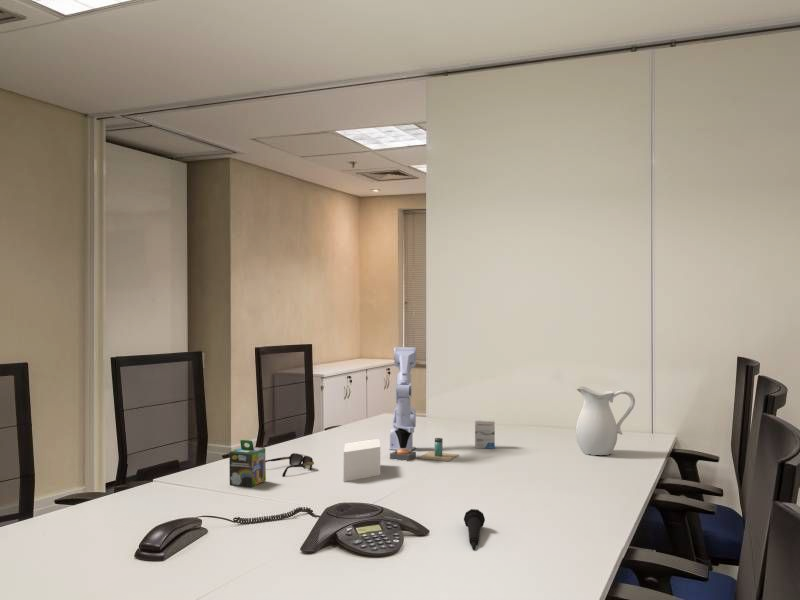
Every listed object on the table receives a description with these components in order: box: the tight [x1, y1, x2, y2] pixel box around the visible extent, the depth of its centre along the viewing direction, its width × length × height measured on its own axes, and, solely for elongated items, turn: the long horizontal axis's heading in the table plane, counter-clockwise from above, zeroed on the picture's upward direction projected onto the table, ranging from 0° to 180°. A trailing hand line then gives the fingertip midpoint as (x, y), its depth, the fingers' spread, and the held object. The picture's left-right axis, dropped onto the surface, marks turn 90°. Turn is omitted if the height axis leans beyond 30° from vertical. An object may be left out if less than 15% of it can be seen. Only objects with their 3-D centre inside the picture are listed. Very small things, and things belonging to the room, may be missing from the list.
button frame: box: [389, 450, 417, 462], centre depth 273 cm, size 8×8×2 cm
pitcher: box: [575, 386, 636, 456], centre depth 285 cm, size 24×17×28 cm
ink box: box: [474, 419, 496, 449], centre depth 297 cm, size 8×5×12 cm, turn 84°
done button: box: [396, 449, 409, 455], centre depth 273 cm, size 5×5×2 cm
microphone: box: [463, 508, 486, 551], centre depth 176 cm, size 6×6×20 cm
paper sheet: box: [417, 451, 460, 462], centre depth 276 cm, size 13×13×1 cm
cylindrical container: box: [434, 437, 444, 457], centre depth 276 cm, size 3×3×7 cm
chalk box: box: [228, 439, 267, 488], centre depth 230 cm, size 9×9×15 cm
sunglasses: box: [265, 452, 315, 477], centre depth 250 cm, size 14×15×5 cm
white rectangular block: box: [342, 438, 381, 482], centre depth 247 cm, size 14×29×10 cm, turn 157°
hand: (403, 447), depth 273 cm, fingers closed
